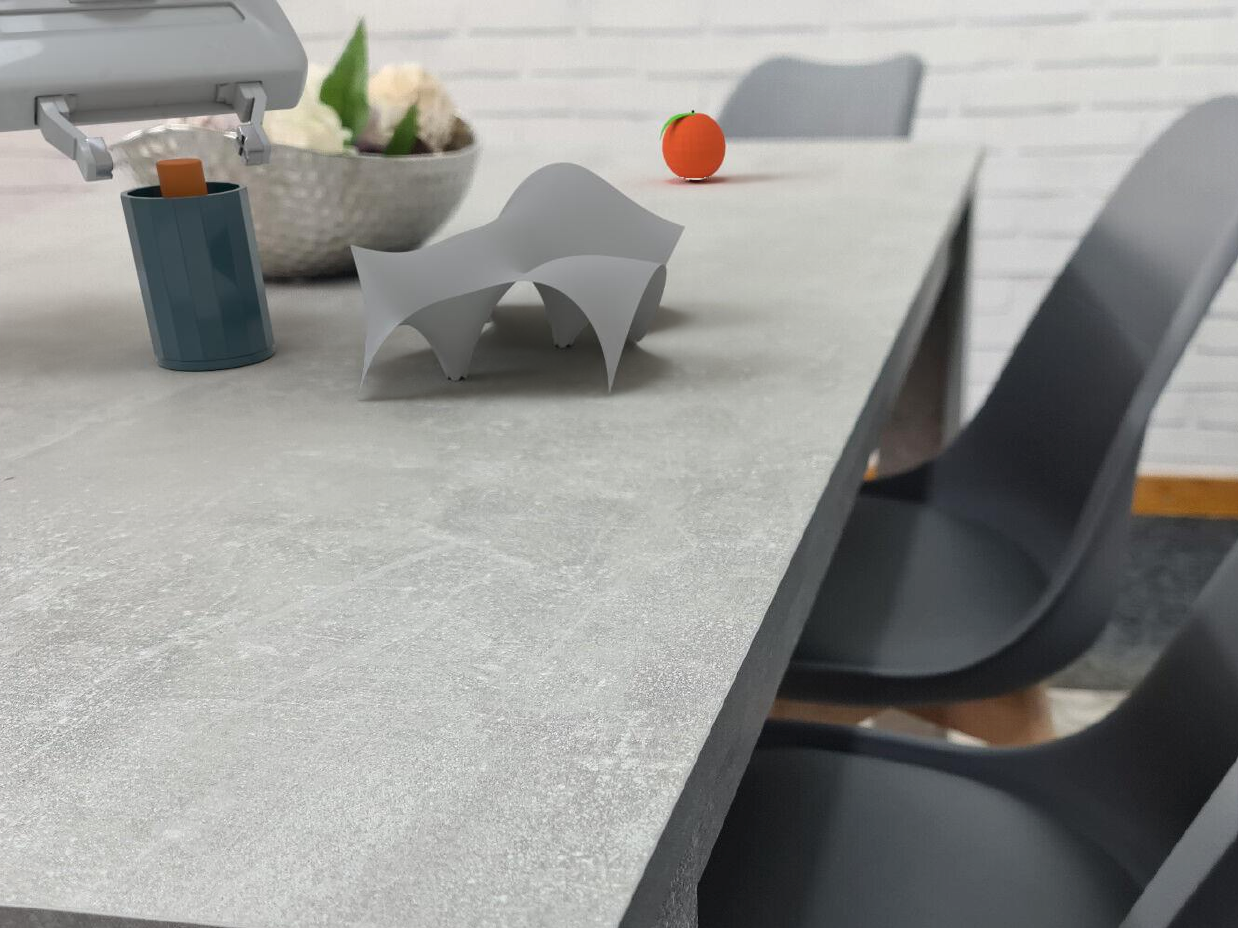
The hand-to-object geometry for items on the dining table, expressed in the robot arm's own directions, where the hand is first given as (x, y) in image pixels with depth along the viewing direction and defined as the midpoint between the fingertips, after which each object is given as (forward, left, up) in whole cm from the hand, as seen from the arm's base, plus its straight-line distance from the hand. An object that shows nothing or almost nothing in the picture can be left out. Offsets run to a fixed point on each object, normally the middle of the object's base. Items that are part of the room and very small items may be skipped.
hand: (182, 165), depth 85 cm
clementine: (+52, +62, -12) cm, 81 cm away
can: (0, +1, -11) cm, 11 cm away
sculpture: (+19, -5, -12) cm, 23 cm away
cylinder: (0, +1, -11) cm, 11 cm away
